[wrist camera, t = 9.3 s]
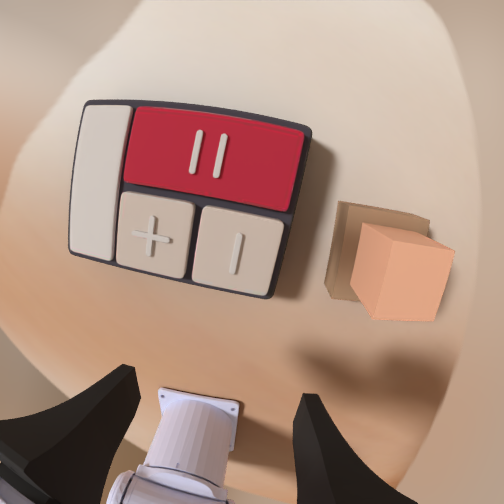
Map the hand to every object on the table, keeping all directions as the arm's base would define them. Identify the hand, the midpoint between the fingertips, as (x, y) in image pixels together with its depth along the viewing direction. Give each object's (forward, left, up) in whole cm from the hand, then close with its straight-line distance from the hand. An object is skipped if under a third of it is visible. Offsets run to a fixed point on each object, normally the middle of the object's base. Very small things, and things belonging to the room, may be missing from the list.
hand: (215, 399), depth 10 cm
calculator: (+7, +5, -11) cm, 14 cm away
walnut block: (+5, -9, -11) cm, 15 cm away
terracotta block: (+5, -9, -8) cm, 13 cm away
